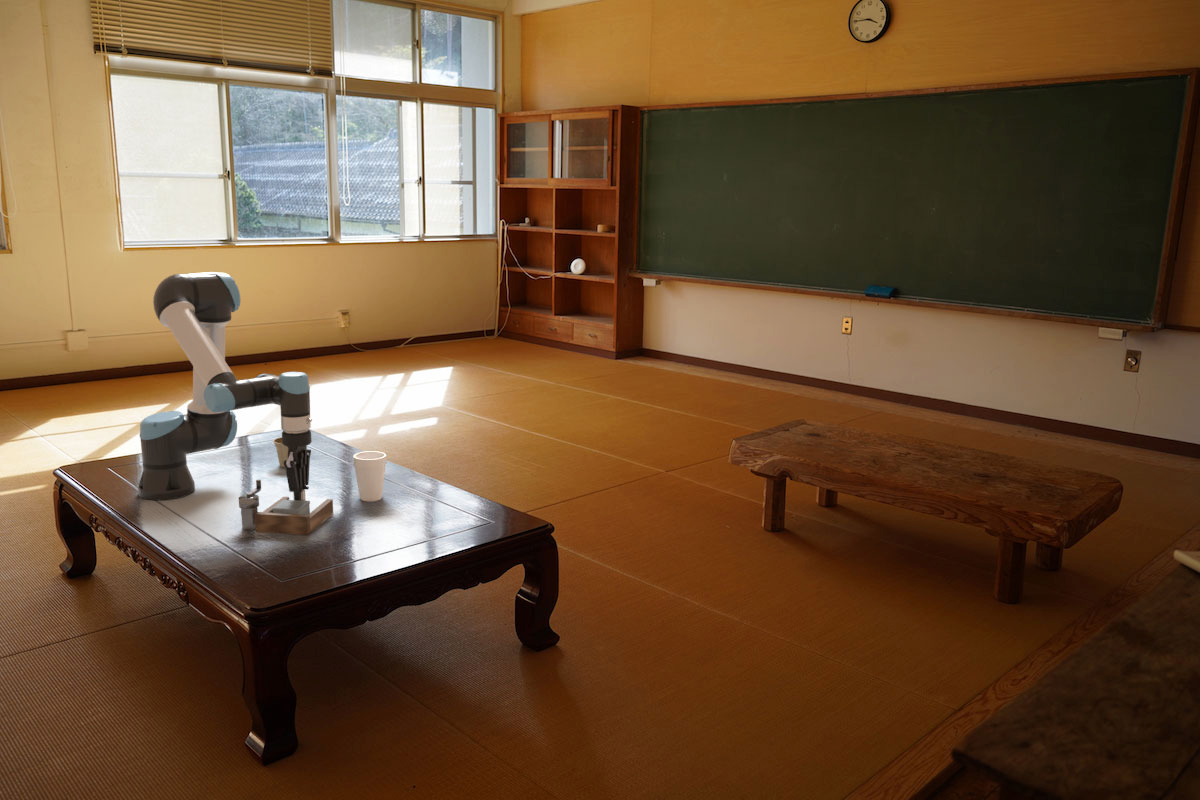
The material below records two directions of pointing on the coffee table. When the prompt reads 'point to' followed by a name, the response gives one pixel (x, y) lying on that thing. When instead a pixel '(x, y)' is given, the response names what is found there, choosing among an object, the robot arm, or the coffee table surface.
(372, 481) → the foam cup
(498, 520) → the coffee table surface
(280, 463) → the flower pot
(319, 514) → the bay
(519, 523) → the coffee table surface
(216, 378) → the robot arm
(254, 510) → the winch
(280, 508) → the gray block
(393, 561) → the coffee table surface
